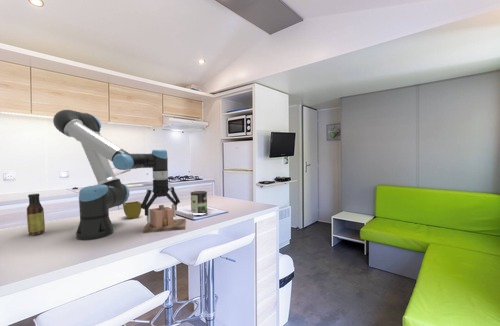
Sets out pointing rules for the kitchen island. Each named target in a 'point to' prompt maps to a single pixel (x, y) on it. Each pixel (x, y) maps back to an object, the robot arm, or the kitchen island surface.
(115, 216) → the kitchen island surface
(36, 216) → the sauce bottle
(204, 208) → the coffee can
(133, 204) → the flower pot
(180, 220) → the base
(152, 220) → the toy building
